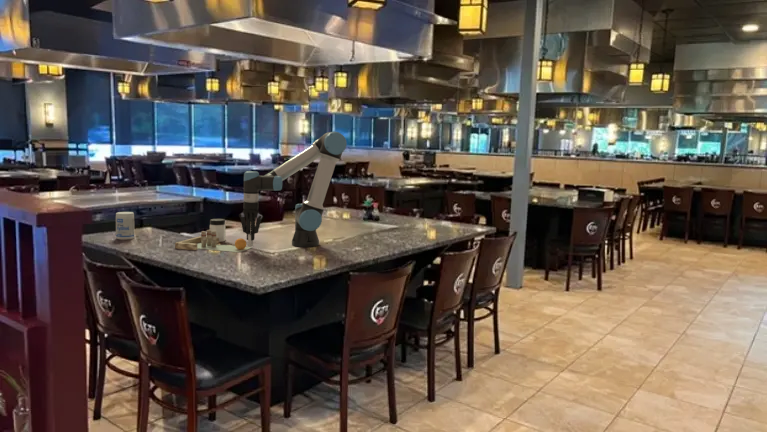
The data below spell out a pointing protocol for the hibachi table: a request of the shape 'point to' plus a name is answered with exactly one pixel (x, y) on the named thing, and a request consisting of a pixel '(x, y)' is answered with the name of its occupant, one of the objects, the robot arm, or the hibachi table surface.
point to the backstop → (191, 243)
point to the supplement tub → (124, 225)
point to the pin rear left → (203, 238)
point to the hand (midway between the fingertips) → (250, 246)
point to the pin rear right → (208, 237)
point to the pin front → (213, 238)
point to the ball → (240, 243)
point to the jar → (218, 228)
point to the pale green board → (222, 248)
